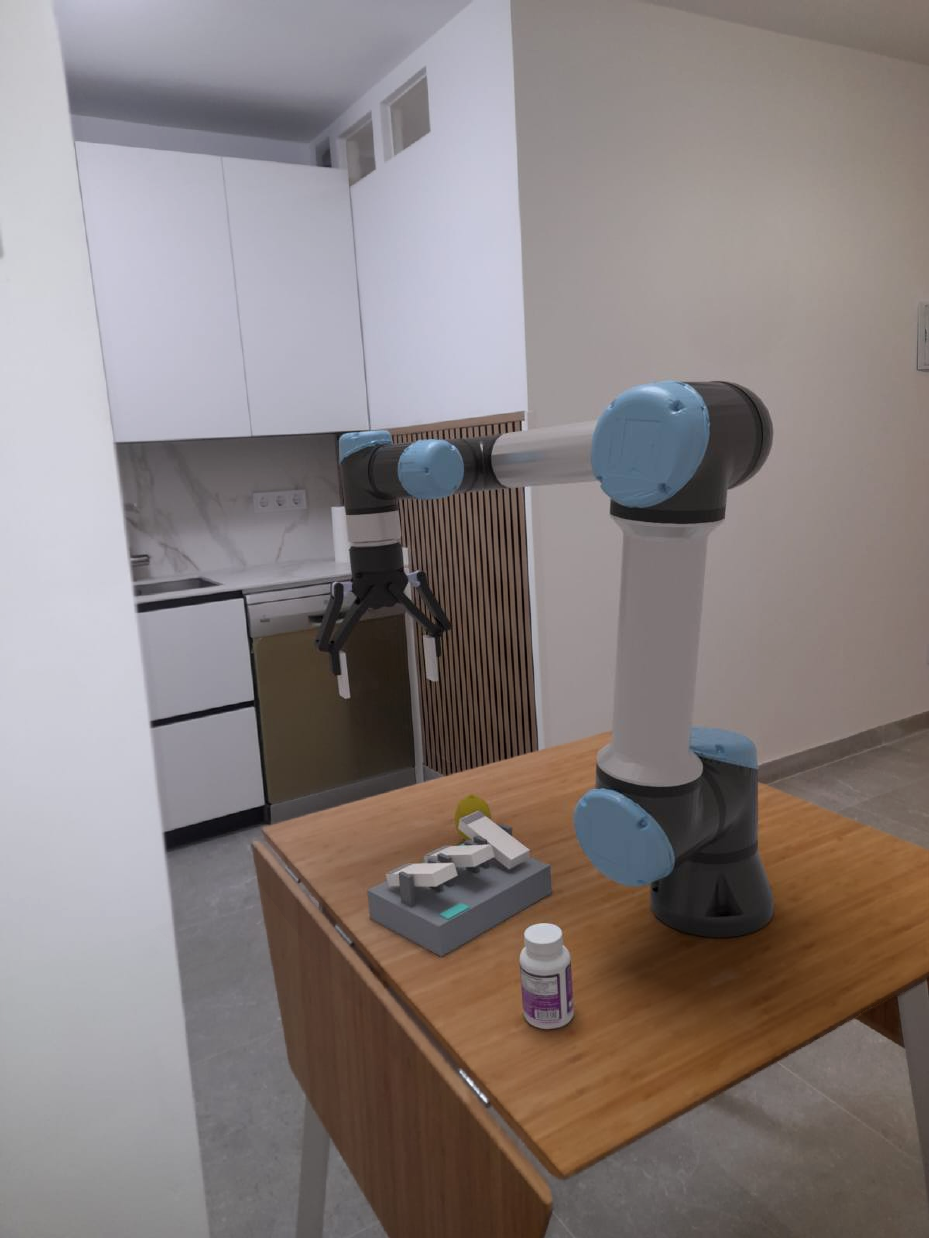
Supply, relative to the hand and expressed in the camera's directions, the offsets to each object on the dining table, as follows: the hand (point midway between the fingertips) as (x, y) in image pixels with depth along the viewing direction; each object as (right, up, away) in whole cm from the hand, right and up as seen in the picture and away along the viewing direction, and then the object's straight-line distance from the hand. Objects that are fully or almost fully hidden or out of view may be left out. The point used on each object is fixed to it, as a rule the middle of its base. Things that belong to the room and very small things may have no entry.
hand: (389, 688), depth 132 cm
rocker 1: (+5, -22, -18) cm, 29 cm away
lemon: (+13, -24, +6) cm, 28 cm away
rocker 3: (+15, -20, -9) cm, 26 cm away
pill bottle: (+20, -32, -36) cm, 52 cm away
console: (+11, -28, -12) cm, 32 cm away
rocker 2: (+10, -21, -13) cm, 27 cm away
